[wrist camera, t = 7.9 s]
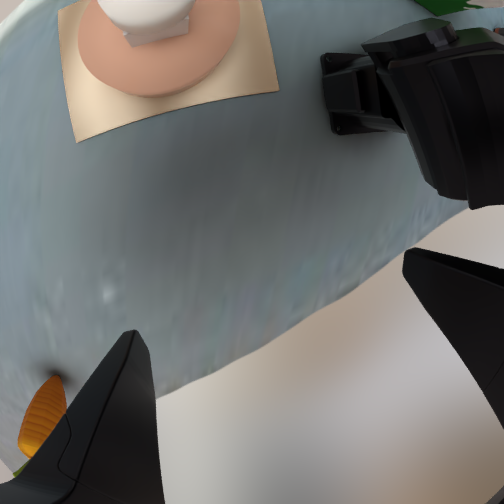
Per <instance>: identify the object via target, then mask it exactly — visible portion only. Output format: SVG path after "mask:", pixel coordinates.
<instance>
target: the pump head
mask: <svg viewBox="0 0 504 504" xmlns="http://www.w3.org/2000/svg"><path fill="white" fill-rule="evenodd" d="M97 1H98V4H99V5H100V7H101V8H102V9H103V11H104V12H105V13H106V15H107V16H108V17H109V19H110V20H111V22H112V23H113V24H114V25H115V26H116V27H117V28H118V29H120V30H122V31H124V32H127V33H130V34H137V35H146V34H153V33H157V32H161V31H164V30H166V29H168V28H170V27H172V26H174V25H176V24H177V23H179V22H180V21H181V20H183V19H184V18H185V17H186V16H187V15H188V13H189V12H190V11H191V9H192V8H193V6H194V3H195V0H97Z"/></svg>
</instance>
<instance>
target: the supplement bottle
mask: <svg viewBox="0 0 504 504" xmlns="http://www.w3.org/2000/svg"><path fill="white" fill-rule="evenodd" d="M495 33H497V34H499V35H501V36H503V37H504V28H496V29H495Z"/></svg>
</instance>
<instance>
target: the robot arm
mask: <svg viewBox="0 0 504 504" xmlns="http://www.w3.org/2000/svg"><path fill="white" fill-rule="evenodd" d="M361 46H362V47H363V49H364V51H365V52H367V53H368V54H369V55H361V54H347V53H325V54H323V55H322V56H321V63H322V69H323V74H324V77H323V85H324V91H325V98H326V105H327V109H328V110H329V113H330V121H331V129H332V132H333V133H334V134H336V135H347V134H357V133H369V132H382V131H393V132H399V133H404V134H407V136H408V139H409V141H410V144H411V146H412V149H413V151H414V154H415V157H416V159H417V162H418V165H419V168H420V171H421V173H422V175H423V177H424V179H425V181H426V182H427V183H428V184H430V185H431V186H432V187H433V188H435V189H437V191H438V194H439V195H440V196H444V197H447V198H450V199H453V200H461V201H468V204H469V208H470V209H471V210H474V209H478V208H482V207H485V206H490V205H504V37H503V36H501V35H499V34H497V33H495V32H493V31H490V30H488V29H486V28H470V29H463V30H456V31H455V30H454V28H453V26H452V24H451V22H448V21H444V20H440V19H435V18H428V19H424V20H420V21H416V22H412V23H408V24H405V25H402V26H400V27H398V28H395V29H393V30H391V31H388V32H386V33H384V34H382V35H379V36H377V37H375V38H373V39H371V40H369V41H367V42H365V43H363V44H361ZM326 57H328V58H329V59H330V62H328V61H327V59H326ZM338 126H340V130H339V131H337V127H338ZM402 273H403V276H404V278H405V279H406V281H407V282H408V284H409V285H410V287H411V288H412V290H413V291H414V293H415V294H416V296H417V297H418V299H419V301H420V302H421V304H422V305H423V307H424V308H425V310H426V311H427V312H428V314H429V315H430V316H431V317H432V319H433V320H434V322H435V323H436V324H437V325H438V327H439V328H440V330H441V331H442V332H443V334H444V335H445V336H446V338H447V339H448V340H449V342H450V343H451V345H452V346H453V348H454V349H455V350H456V352H457V353H458V355H459V356H460V358H461V359H462V361H463V362H464V364H465V365H466V367H467V368H468V370H469V371H470V373H471V374H472V376H473V377H474V379H475V380H476V382H477V384H478V385H479V387H480V388H481V390H482V391H483V394H484V395H485V397H486V399H487V400H488V402H489V404H490V405H491V407H492V409H493V411H494V412H495V414H496V416H497V418H498V420H499V422H500V423H501V425H502V427H503V429H504V269H499V268H498V267H494V266H490V265H486V264H482V263H479V262H475V261H471V260H467V259H463V258H459V257H454V256H451V255H446V254H442V253H438V252H434V251H430V250H425V249H421V248H416V247H414V248H411V249H408V250H406V251H405V253H404V261H403V268H402ZM0 504H165V500H164V493H163V486H162V477H161V469H160V459H159V448H158V436H157V420H156V400H155V391H154V384H153V377H152V369H151V361H150V353H149V350H148V348H147V346H146V344H145V343H144V341H143V339H142V337H141V335H140V334H139V332H138V331H137V330H130V331H126V332H124V333H123V334H122V335H121V336H120V338H119V339H118V340H117V341H116V343H115V344H114V345H113V347H112V348H111V349H110V351H109V352H108V353H107V355H106V356H105V357H104V359H103V360H102V361H101V363H100V364H99V365H98V367H97V368H96V369H95V371H94V372H93V374H92V375H91V376H90V378H89V379H88V380H87V382H86V383H85V385H84V386H83V387H82V389H81V390H80V392H79V393H78V394H77V396H76V397H75V399H74V400H73V401H72V403H71V404H70V406H69V407H68V409H67V410H66V414H65V413H64V414H63V416H62V417H61V419H60V420H59V422H58V423H57V425H56V426H55V427H54V429H53V430H52V432H51V433H50V435H49V436H48V437H47V438H46V440H45V441H44V442H43V444H42V445H41V446H40V448H39V449H38V450H37V451H36V453H35V454H34V455H33V457H32V458H31V459H30V460H29V462H28V463H27V464H26V466H25V467H24V468H23V470H22V471H21V472H20V473H19V474H18V475H17V476H16V477H15V478H13V479H12V480H10V481H8V482H5V483H2V484H0ZM486 504H504V486H503V487H502V488H501V489H500V490H499V491H498V492H497V493H496V494H495V495H494V496H493V497H492V498H491V499H490V500H489V501H488V502H487V503H486Z"/></svg>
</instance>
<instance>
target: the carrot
mask: <svg viewBox="0 0 504 504" xmlns="http://www.w3.org/2000/svg"><path fill="white" fill-rule="evenodd" d="M66 410H67V405H66V398H65V392H64V388H63V385H62V381H61V379H60V377H59V376H58V375H54V376H52V377H51V378H50V379H48V380H47V381H46V382H45V383H44V384H43V385H42V386H41V387H40V388H39V390H38V391H37V392H36V394H35V396H34V397H33V399H32V401H31V403H30V404H29V406H28V408H27V410H26V413H25V416H24V419H23V422H22V425H21V429H20V433H19V437H18V447H19V449H20V450H21V451H22V453H23V454H24V455H26V456H27V457H28V458H29V459H31V458H32V457H33V455H34V454H35V453H36V451H37V450H38V449H39V448H40V446H41V445H42V444H43V442H44V441H45V440H46V438H47V437H48V436H49V435H50V433H51V432H52V430H53V429H54V427H55V426H56V425H57V423H58V422H59V420H60V419H61V417H62V416H63V414H64V413H65V414H66ZM28 462H29V460H28V461H27V462H26V463H25V464H24V465H23V466H22V467H21V468H20V469H19V470H18V471H16V472H14V473H13V476H14V477H16V476H17V475H18V474H19V473H20V472H21V471H22V470H23V468H24V467H25V466H26V464H27V463H28Z"/></svg>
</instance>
